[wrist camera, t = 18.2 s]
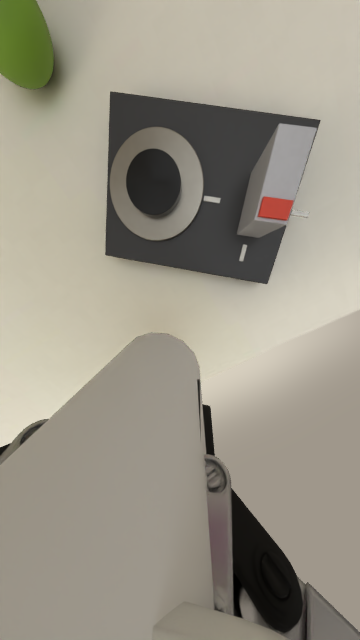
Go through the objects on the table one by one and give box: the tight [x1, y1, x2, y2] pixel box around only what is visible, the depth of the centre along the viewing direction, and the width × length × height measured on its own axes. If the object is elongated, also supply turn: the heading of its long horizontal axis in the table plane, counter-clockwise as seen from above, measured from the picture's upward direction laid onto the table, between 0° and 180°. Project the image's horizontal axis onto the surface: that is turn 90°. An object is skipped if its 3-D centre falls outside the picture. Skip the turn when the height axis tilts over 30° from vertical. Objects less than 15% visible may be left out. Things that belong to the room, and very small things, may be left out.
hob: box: [105, 92, 320, 284], centre depth 16 cm, size 17×12×3 cm
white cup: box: [0, 333, 215, 640], centre depth 8 cm, size 7×7×10 cm
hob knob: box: [237, 123, 317, 238], centre depth 12 cm, size 5×2×5 cm, turn 171°
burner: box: [110, 127, 204, 241], centre depth 14 cm, size 8×8×2 cm
